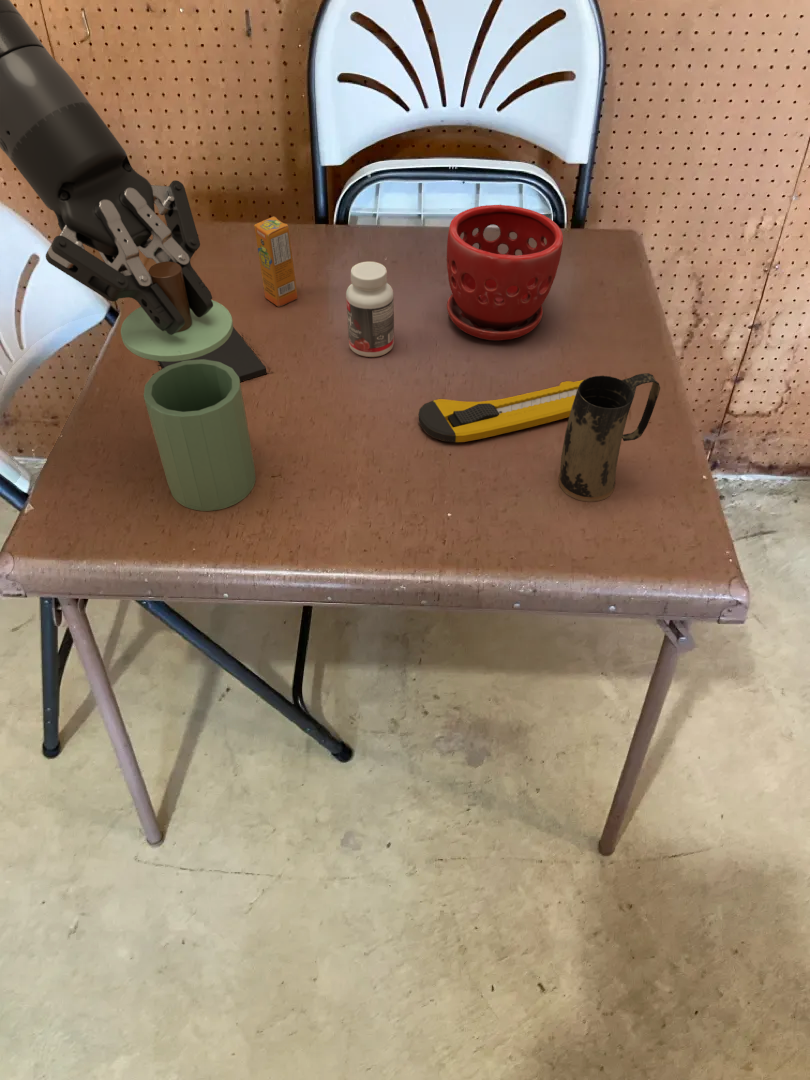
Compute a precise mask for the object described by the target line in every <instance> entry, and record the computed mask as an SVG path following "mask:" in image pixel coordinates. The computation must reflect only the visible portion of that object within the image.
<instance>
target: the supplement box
mask: <svg viewBox="0 0 810 1080" xmlns="http://www.w3.org/2000/svg"><path fill="white" fill-rule="evenodd" d="M253 226H254V233H255V240H256V246H257V254H258V259H259V260H258V261H259V267H260V273H261V278H262V280H261V281H262V286H263V292H264V298H265V299H266V300H268V301H269V302H271V303H272V304H274V305H275V306H277V307H278V308H280V307H283V306H284V305H287V304H289V303H291V302H293V301H295V300H297V299H298V298H299V295H298V288H297V281H296V273H295V267H294V259H293V251H292V244H291V237H290V236H291V235H290V228H289V225H288V224H287V223H286V222H285V223H284V222H282V221H281V220H279V219H278V218H277V217H276V216H272V217H269V218H266V219H264V220H262V221H260V222H257V223H255V224H254V225H253Z"/></svg>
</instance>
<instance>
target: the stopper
mask: <svg viewBox="0 0 810 1080" xmlns="http://www.w3.org/2000/svg"><path fill="white" fill-rule="evenodd" d="M147 272H148V273H149V275H150V277H151V279H152V282H151V283H152V285H154V284H155V283H157V284H158V285H159V286H160V288H161V289H162V290H163V292H164V293H165V294H166V296H167V297H168V298H169V300H170V301H171V302H172V304H173V305H174V306H175V308H176V309H177V310H178V311H179V313H180V314H181V315H182V317H183V318H184V320H185V324H184V326H183V327H182V328H181V329H180V330H179V331H177V332H176V333H174V334H172V335H170V334H168V333H167V332H166V330H164V331H162V330H160V329H159V328H157V326H156V325H155V324H154V323H153V321H152V320H151V319H150V317H149V316H148V315H147V313H146V312H145V311H144V310H143V308H142V307H141V306H139V307H138V308H136V309H135V310H133V311H132V312H130V313H129V314H128V315H127V316H126V318H124V319H123V322H122V324H121V327H120V337H121V340H122V343H123V345H124V346H125V347H126V349H127V350H128V351H129V352H131V353H132V354H134V355H135V356H137V357H138V358H139V357H140V358H142V359H145V360H150V361H154V362H158V361H165V362H170V361H183V360H188V359H193V358H197V357H200V356H203V355H205V354H208V353H210V352H212V351H214V350H216V349H217V348H219V347H220V346H221V345H223V344H224V343H225V342H226V341H227V340H228V338H229V337H230V335H231V333H232V330H233V327H234V323H233V322H234V321H233V317H232V314H231V312H230V311H229V309H228V308H227V307H226V306H224V305H223V304H222V303H221V302H220V303H219V302H218V301H217V300H213V299H211V300H212V302H213V307H212V308H211V309H210V310H209V311H208V312H207V313H206V314H205V315H203V316H201V317H197V316H196V315H195V314H194V313H193V311H192V310H191V309H190V307H189V302H188V297H187V292H186V287H185V282H184V277H183V272H182V268H181V266H180V265H179V264H178V263H175V262H160V263H154V264H153V265H151V266H150V267H149V268H148V270H147Z"/></svg>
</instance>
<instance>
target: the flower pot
mask: <svg viewBox="0 0 810 1080" xmlns="http://www.w3.org/2000/svg"><path fill="white" fill-rule="evenodd" d="M489 226H496V227H497V228H498V229H499V231H500V232H499V236H498V237H497V238H495V239H493V240H487V239H486V238H485V236H484V233H485V230H486V229H487V227H489ZM475 229H477V230H478V231H477V233H476V234H473V232H474V230H475ZM511 233H515V234H516V238H511V237H510V236H511V235H510V234H511ZM462 234H463V237H462V238H461V236H462ZM530 239H533V240H534V241H535V242H536V245H535V247H532V246H531V244H530V243H529V242H530ZM545 240H546V243H545ZM446 241H447V242H446V269H447V275H448V276H447V279H448V284H449V288H450V291H451V295H450V296H449V297H448V300H447V303H446V310H447V313H448V317H449V318H450V320H451V321H452V322H453V324H454V325H455V326H456V327H457V328H458V329H460V330H461V331H463V332H464V333H466V334H468V335H470V336H473V337H475V338H479V339H482V340H486V341H487V340H488V341H507V340H508V341H509V340H513V339H517V338H520V337H523V336H525V335H527V334H528V333H530V332H531V331H534V329H536V327H537V326H538V325H539V324H540V322H541V320H542V318H543V313H544V312H543V310H544V309H543V304H544V302H545V301H546V299H547V298H548V296H549V293H550V291H551V289H552V286H553V285H554V281H555V279H556V276H557V272H558V268H559V266H560V261H561V257H562V251H563V244H564V234H563V231H562V229H561V227H560V226H559V225H558V224H557V223H556V222H555V221H554V220H552V219H551V218H550V217H548V216H546V215H544V214H543V213H541V212H539V211H535V210H532V209H528V208H525V207H521V206H515V205H507V204H506V205H505V204H486V205H479V206H474V207H471V208H468V209H466V210H463V211H462V212H459V213H458V214H456V215H455V216H454V217H453V218H452V220H451V221H450V223H449V227H448V232H447V240H446ZM475 244H478V248H477V247H475V246H474V245H475ZM500 245H505V246H507V252H505V253H501V252H500V251H499V246H500ZM517 251H521V254H520V255H519V254H518V255H516V252H517Z"/></svg>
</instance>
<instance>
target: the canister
mask: <svg viewBox="0 0 810 1080" xmlns="http://www.w3.org/2000/svg"><path fill="white" fill-rule="evenodd" d="M143 399H144V403H145V407H146V411H147V413H148V418H149V421H150V425H151V428H152V432H153V435H154V439H155V442H156V446H157V450H158V453H159V457H160V461H161V464H162V468H163V471H164V472H163V473H164V475H165V480H166V482H167V486H168V489H169V491H170V494H171V496H172V497H173V499H174V500H175V501H176V502H177V503H178V504H180V505H181V506H183V507H185V508H187V509H190V510H193V511H199V512H214V511H220V510H224V509H226V508H230V507H232V506H234V505H236V504H238V503H240V502H242V501H243V500H244V499H246V497H248V496H249V494H250V493H251V492H252V491H253V489H254V487H255V484H256V477H257V476H256V468H255V467H256V465H255V461H254V455H253V450H252V449H253V448H252V444H251V437H250V431H249V426H248V420H247V413H246V408H245V402H244V397H243V391H242V385H241V382H240V379H239V377H238V375H237V374H236V373H235V371H234V370H233V369H232V368H231V367H229V366H227V365H225V364H223V363H221V362H217V361H211V360H204V359H203V360H188V361H182V362H179V363H175V364H172V365H169V366H166V367H165V368H161V369H160V370H158V371H157V372H155V373H153V375H151V377H150V378H149V379H148V381H147V382H146V383H145V385H144V390H143Z"/></svg>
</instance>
